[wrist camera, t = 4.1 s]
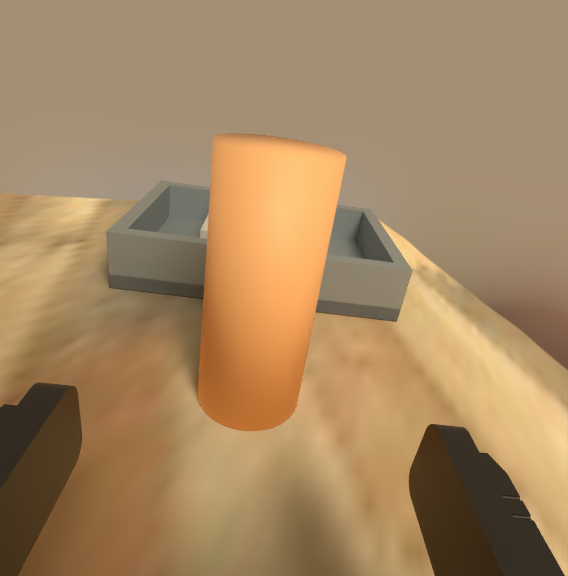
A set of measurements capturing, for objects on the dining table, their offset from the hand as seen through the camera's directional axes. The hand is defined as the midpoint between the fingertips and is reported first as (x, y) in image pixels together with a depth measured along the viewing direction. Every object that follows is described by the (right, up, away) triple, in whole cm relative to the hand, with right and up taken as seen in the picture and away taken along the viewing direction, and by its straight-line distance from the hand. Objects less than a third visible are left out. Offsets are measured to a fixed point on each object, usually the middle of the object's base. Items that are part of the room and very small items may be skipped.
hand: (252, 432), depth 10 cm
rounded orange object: (-1, -2, +12) cm, 12 cm away
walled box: (-1, +5, +26) cm, 26 cm away
